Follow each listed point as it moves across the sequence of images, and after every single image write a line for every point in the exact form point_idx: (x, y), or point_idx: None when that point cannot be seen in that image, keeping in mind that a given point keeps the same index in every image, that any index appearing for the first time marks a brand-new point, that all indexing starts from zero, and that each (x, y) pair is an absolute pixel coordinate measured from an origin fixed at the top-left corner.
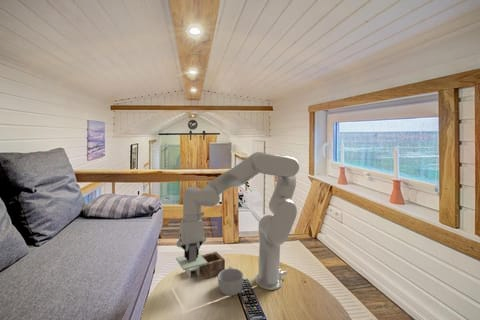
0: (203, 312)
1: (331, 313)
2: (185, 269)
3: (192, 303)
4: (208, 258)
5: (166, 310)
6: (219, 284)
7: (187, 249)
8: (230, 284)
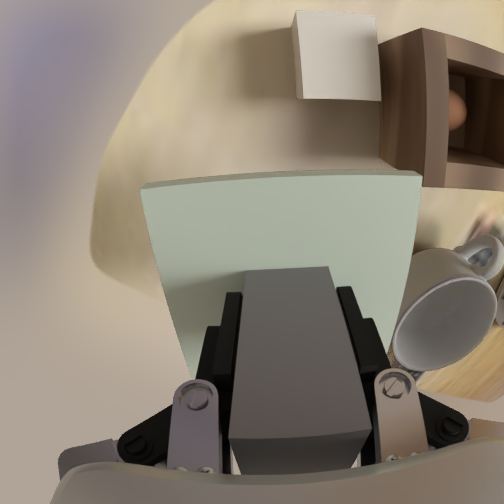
0: None
1: (489, 398)
2: None
3: None
4: (468, 67)
5: (151, 275)
6: None
7: (222, 440)
8: (408, 361)
